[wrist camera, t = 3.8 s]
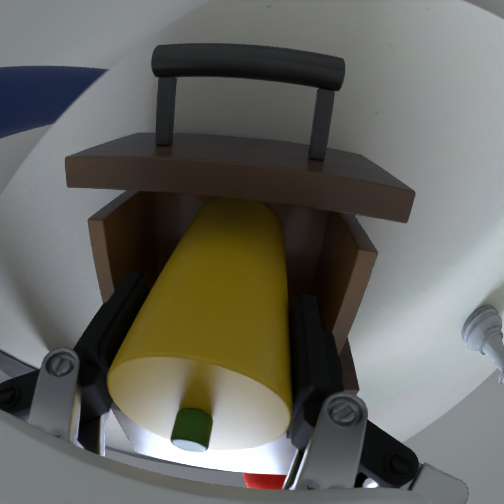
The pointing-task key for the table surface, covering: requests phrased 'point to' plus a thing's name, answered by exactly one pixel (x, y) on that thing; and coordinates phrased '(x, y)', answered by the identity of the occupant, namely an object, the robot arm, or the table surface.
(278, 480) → the apple
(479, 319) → the chess piece
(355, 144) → the table surface
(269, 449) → the cabinet
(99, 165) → the drawer
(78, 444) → the robot arm
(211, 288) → the yellow tall cylinder
